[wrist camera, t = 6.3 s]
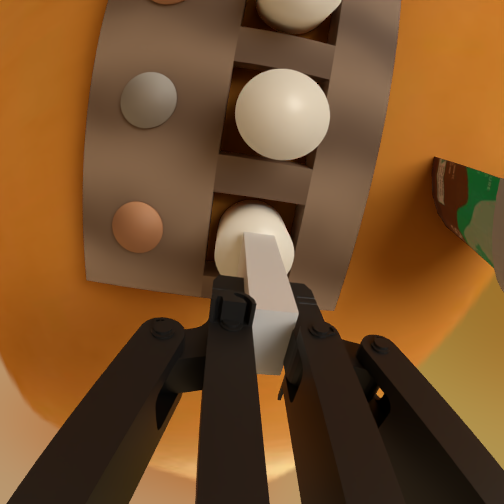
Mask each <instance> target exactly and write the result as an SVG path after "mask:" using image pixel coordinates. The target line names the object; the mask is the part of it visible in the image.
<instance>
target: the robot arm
mask: <svg viewBox="0 0 504 504" xmlns="http://www.w3.org/2000/svg"><path fill="white" fill-rule="evenodd" d="M283 365H284V369H285V376H284V379H283V382H282V385H281V388H280V391H279V394H278V400H281V398H282V395H283V393H284V399H285V405H286V411H287V417H288V423H289V429H290V436H291V442H292V448H293V454H294V460H295V466H296V472H297V478H298V485H299V491H300V497H301V503H302V504H504V470H503V469H502V468H501V467H500V465H499V464H498V463H497V461H496V460H495V459H494V458H493V457H492V455H491V454H490V453H489V452H488V451H487V449H486V448H485V447H484V446H483V444H482V443H481V442H480V441H479V439H477V437H476V436H475V435H474V434H473V432H472V431H471V430H470V429H469V428H468V426H467V425H466V424H465V423H464V422H463V421H462V419H461V418H460V417H459V416H458V415H457V414H456V412H455V411H454V410H453V409H452V408H451V407H450V406H449V404H448V403H447V402H446V401H445V400H444V399H443V397H441V395H440V394H439V393H438V392H437V391H436V389H435V388H434V387H433V386H432V385H431V384H430V383H429V382H428V381H427V379H426V378H425V377H424V376H423V375H422V374H421V373H420V372H419V370H418V369H417V368H416V367H415V366H414V365H413V364H412V363H411V362H410V360H409V359H408V358H407V357H406V356H405V355H404V354H403V353H402V352H401V351H400V350H399V348H398V347H397V346H396V345H395V344H394V343H393V342H391V341H390V340H389V339H387V338H385V337H383V336H379V335H368V336H365V337H364V338H363V339H362V341H361V344H357V343H353V342H349V341H346V340H343V339H341V337H340V335H339V333H338V331H337V330H336V328H335V327H333V326H332V325H330V324H329V323H326V322H324V319H323V317H322V314H321V312H320V310H319V307H318V305H317V302H316V300H315V297H314V295H313V293H312V290H311V289H309V288H308V287H307V286H306V285H305V284H302V283H293V282H289V280H288V277H287V274H286V270H285V267H284V264H283V261H282V258H281V255H280V252H279V249H278V245H277V242H276V239H275V236H274V235H266V234H259V233H252V232H244V233H243V239H242V245H241V251H240V258H239V264H238V270H237V276H236V277H233V276H225V275H218V276H217V277H216V278H215V279H214V280H213V287H212V295H211V304H210V313H209V319H208V321H207V322H206V323H205V324H204V325H202V326H200V327H197V328H193V329H184V327H183V326H182V325H181V324H180V323H179V322H177V321H175V320H173V319H169V318H164V317H161V318H153V319H150V320H147V321H146V322H145V323H143V324H142V325H141V327H140V328H139V329H138V330H137V331H136V333H135V334H134V335H133V336H132V338H131V339H130V340H129V341H128V342H127V344H126V345H125V346H124V347H123V349H122V350H121V351H120V352H119V354H118V355H117V356H116V357H115V359H114V360H113V361H112V362H111V364H110V365H109V366H108V367H107V369H106V370H105V371H104V373H103V374H102V375H101V376H100V378H99V379H98V380H97V381H96V383H95V384H94V385H93V387H92V388H91V389H90V390H89V392H88V393H87V394H86V396H85V397H84V398H83V399H82V401H81V402H80V403H79V405H78V406H77V407H76V409H75V410H74V411H73V412H72V414H71V415H70V416H69V418H68V419H67V420H66V422H65V423H64V424H63V426H62V427H61V428H60V430H59V431H58V433H57V434H56V435H55V437H54V438H53V439H52V441H51V442H50V443H49V445H48V446H47V447H46V449H45V450H44V451H43V453H42V454H41V455H40V457H39V458H38V460H37V461H36V462H35V464H34V465H33V467H32V468H31V469H30V471H29V472H28V474H27V475H26V476H25V478H24V479H23V481H22V482H21V484H20V485H19V486H18V488H17V489H16V491H15V492H14V494H13V495H12V497H11V498H10V499H9V501H8V502H7V504H129V501H130V500H131V498H132V496H133V494H134V492H135V490H136V488H137V486H138V483H139V482H140V480H141V477H142V475H143V474H144V471H145V469H146V467H147V465H148V463H149V461H150V459H151V457H152V455H153V453H154V451H155V449H156V447H157V445H158V443H159V441H160V439H161V437H162V435H163V433H164V431H165V429H166V427H167V425H168V423H169V421H170V419H171V417H172V415H173V413H174V411H175V409H176V407H177V405H178V403H179V401H180V399H181V396H182V393H183V392H191V391H198V390H202V399H201V413H200V427H199V443H198V459H197V478H196V501H195V504H270V503H269V493H268V483H267V474H266V464H265V454H264V444H263V434H262V424H261V414H260V404H259V393H258V383H257V374H266V375H280V374H281V371H282V368H283ZM379 388H381V390H382V391H383V392H384V395H383V397H382V398H379V397H378V396H377V394H376V393H377V391H378V389H379Z"/></svg>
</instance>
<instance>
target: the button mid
mask: <svg viewBox="0 0 504 504" xmlns="http://www.w3.org/2000/svg"><path fill="white" fill-rule="evenodd" d="M235 119H236V124H237V127H238V130H239V132H240V135H241V136H242V138H243V139H244V141H245V142H246V143H247V144H248V146H249V147H251V148H252V149H253V150H254V151H256V152H257V153H259V154H261V155H263V156H265V157H268V158H271V159H275V160H292V159H296V158H300V157H302V156H305V155H306V154H308V153H310V152H311V151H313V150H314V149H315V148H316V147H317V146H318V145H319V144H320V143H321V141H322V140H323V138H324V137H325V135H326V132H327V130H328V126H329V121H330V110H329V104H328V101H327V98H326V96H325V94H324V92H323V91H322V89H321V88H320V87H319V85H318V84H317V83H316V82H315V81H314V80H312V79H311V78H310V77H308V76H307V75H305V74H303V73H301V72H298V71H295V70H291V69H272V70H268V71H265V72H263V73H260V74H259V75H257V76H255V77H254V78H252V79H251V80H250V81H249V82H248V83H247V84H246V85H245V86H244V88H243V89H242V91H241V93H240V94H239V97H238V99H237V103H236V109H235Z"/></svg>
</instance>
